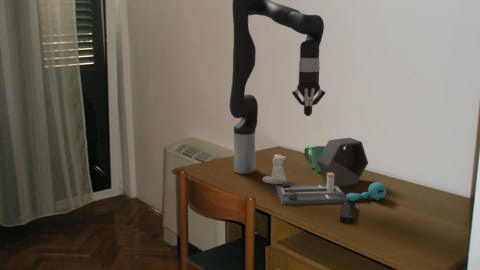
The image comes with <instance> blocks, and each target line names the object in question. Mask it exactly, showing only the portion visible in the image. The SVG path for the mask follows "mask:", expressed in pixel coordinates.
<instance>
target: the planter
mask: <svg viewBox="0 0 480 270" xmlns="http://www.w3.org/2000/svg"><path fill="white" fill-rule="evenodd" d="M325 146H326V147H325V148H324V150H323V152H322V154H321V155H320V157H319V159H318V161H317V162H318V165H319V167H320V170H321V175H322V178H323V181H324V183H327V173H331V172H333V174H334V175H335V177H334V184H337V186H338V187H339V188H342V187H347V186H353V185H357V184H358V182H359V181H360V178H361V177H362V175H363V173H364V171H365V170H366V168H367V166H368V165H369V161H368V158H367V155H366V150H365V149H364V144H363V142H362V141H360V140H358V139H354V138H352V137H343V138H337V139H329V140H328V141H327V143H326V145H325Z"/></svg>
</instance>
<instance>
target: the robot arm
mask: <svg viewBox="0 0 480 270" xmlns="http://www.w3.org/2000/svg"><path fill="white" fill-rule="evenodd" d="M231 7H232V22H233V23H232V24H233V47H232V49H233V50H232V78H231V79H232V80H231V87H230V88H231V90H230V97H229V112H230V114H231V116H232V117H234V119H240V121H239V122H237V123H236V124H235V125H234V127H233V172H235V173H237V174H242V175H247V174H252V173H255V172H256V129H257V125H258V113H259V105H258V104H259V103H258V101H257V98H256V97H255V96H254V95H252V94H245V90H246V86H247V82H248V80H249V78H250V76H251V75H252V73H253V70H254V68H255V66H256V56H257V55H256V52H257V51H256V45H255V43H254V39H253V37H252V35H251V33H250V29H249V16H255V15H256V16H263V17H264V16H265V17H267V18H269V19H271V20H272V21H273V22H275V23H277V24H279V25H281V26H284V27H287V28H290V29H291V30H293V31H295V32H297V33H299V34H301V35H306V37H305V40H304V41H302V42H301V43H300V46H299V48H300V49H299V61H298V62H299V63H298V85H297V87H296V88H295V89H294V90H292V91H291V94H292V95H293V97H294V98H295V100H297V102H298V103H299V104H300V105H301V106H303V114H304V115H305V117H311V115H312V114H313V106H314V105H317V104H319V102H321V100H322V98H323V97H324V96H325V95H326V91H324V90H322V88H321V85H320V69H321V68H320V46H321V42H322V39H323V36H324V35H323V34H324V29H325V24H324V23H325V22H324V20H323V17H321V16H320V15H318V14H306V13H301V11H300V10H298V9H295V8H292V7H290V6H287V5H283V4H280V3H277V2H274V1H272V0H232V6H231ZM299 94H300V95H301V96H302V97H303V100H302V99H301V97H300V96H299ZM316 94H317V95H316ZM315 96H316V97H315ZM314 97H315V98H314Z"/></svg>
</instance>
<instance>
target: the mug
mask: <svg viewBox="0 0 480 270" xmlns="http://www.w3.org/2000/svg"><path fill="white" fill-rule="evenodd" d="M325 147H326V145H319V146H318V145H316V146H309V145H308V146H305V148H304V156H305V158H306V160H307V161H308V164H310V165H311V166H312V167H313V168H314V169H315V172H317V173H318V174H319V173H321V170H320V167H319V165H318V162H317V161H318V159H319V157H320V155H321V154H322V152H323V150H324V148H325ZM310 153H311V155H310ZM321 174H322V173H321Z"/></svg>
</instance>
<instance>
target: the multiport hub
mask: <svg viewBox="0 0 480 270" xmlns="http://www.w3.org/2000/svg"><path fill="white" fill-rule="evenodd" d="M355 214H356V203H355V202H353V201H348V202H343V203H341V211H340V215H339V223H340V224H350V223H352V225H353V224H355V223H354V222H355Z"/></svg>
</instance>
